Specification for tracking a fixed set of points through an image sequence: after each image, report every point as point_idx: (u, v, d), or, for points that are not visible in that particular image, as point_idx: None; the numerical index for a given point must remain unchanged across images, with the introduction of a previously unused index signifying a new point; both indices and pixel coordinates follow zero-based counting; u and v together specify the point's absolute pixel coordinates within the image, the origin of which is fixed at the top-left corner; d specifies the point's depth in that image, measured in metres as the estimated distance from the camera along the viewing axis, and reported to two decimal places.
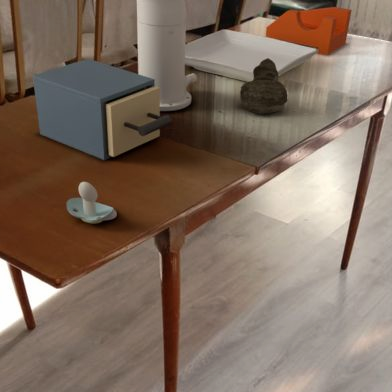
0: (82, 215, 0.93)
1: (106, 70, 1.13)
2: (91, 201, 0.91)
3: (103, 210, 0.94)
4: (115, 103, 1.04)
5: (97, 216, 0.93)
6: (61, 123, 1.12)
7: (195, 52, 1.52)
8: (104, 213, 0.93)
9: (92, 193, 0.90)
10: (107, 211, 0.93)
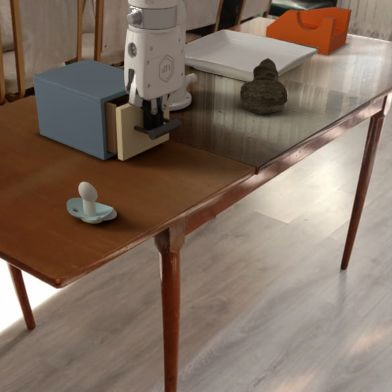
0: (82, 215, 0.93)
1: (106, 70, 1.13)
2: (91, 201, 0.91)
3: (103, 210, 0.94)
4: (125, 107, 1.03)
5: (97, 216, 0.93)
6: (61, 123, 1.12)
7: (195, 52, 1.52)
8: (104, 213, 0.93)
9: (92, 193, 0.90)
10: (107, 211, 0.93)
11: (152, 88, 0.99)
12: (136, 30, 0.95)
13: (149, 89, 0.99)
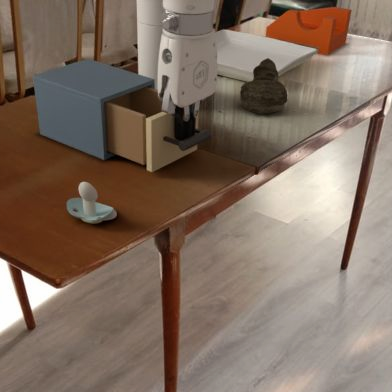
0: (82, 215, 0.93)
1: (106, 70, 1.13)
2: (91, 201, 0.91)
3: (103, 210, 0.94)
4: (155, 117, 1.00)
5: (97, 216, 0.93)
6: (61, 123, 1.12)
7: None
8: (104, 213, 0.93)
9: (92, 193, 0.90)
10: (107, 211, 0.93)
11: (186, 95, 0.96)
12: (171, 36, 0.92)
13: (183, 96, 0.96)
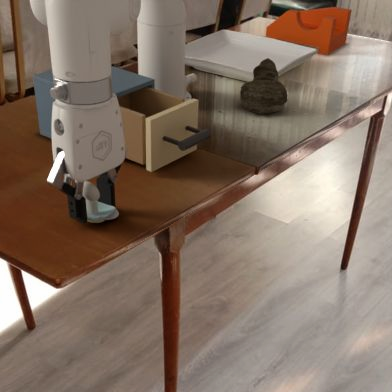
0: None
1: None
2: (93, 200, 0.91)
3: (105, 209, 0.94)
4: (155, 117, 1.00)
5: (99, 215, 0.93)
6: None
7: (195, 52, 1.52)
8: (106, 212, 0.93)
9: (93, 192, 0.90)
10: (109, 211, 0.93)
11: (85, 169, 0.85)
12: (62, 105, 0.81)
13: (81, 170, 0.84)
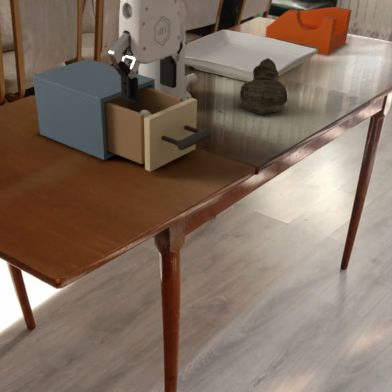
0: None
1: (106, 70, 1.13)
2: None
3: None
4: (153, 117, 1.00)
5: None
6: (61, 123, 1.12)
7: (195, 52, 1.52)
8: None
9: None
10: None
11: (148, 51, 0.96)
12: None
13: (145, 52, 0.96)
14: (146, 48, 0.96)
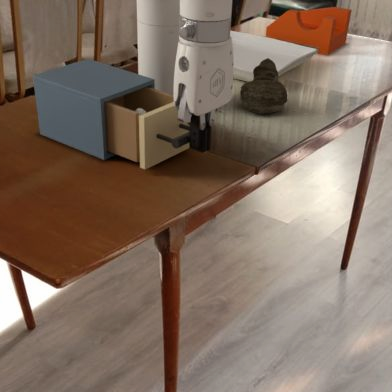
0: None
1: (106, 70, 1.13)
2: None
3: None
4: (148, 115, 1.00)
5: None
6: (61, 123, 1.12)
7: None
8: None
9: None
10: None
11: (203, 103, 0.95)
12: (188, 43, 0.90)
13: (200, 104, 0.94)
14: (201, 100, 0.94)
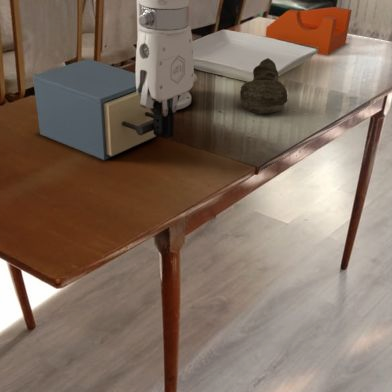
0: None
1: (106, 70, 1.13)
2: None
3: None
4: (113, 103, 1.04)
5: None
6: (61, 123, 1.12)
7: (195, 52, 1.52)
8: None
9: None
10: None
11: (164, 89, 0.98)
12: (148, 31, 0.94)
13: (161, 90, 0.98)
14: (162, 86, 0.98)
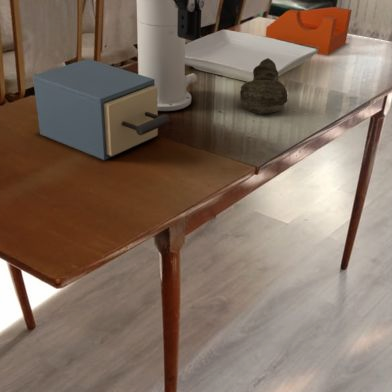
0: None
1: (106, 70, 1.13)
2: None
3: None
4: (113, 103, 1.04)
5: None
6: (61, 123, 1.12)
7: (195, 52, 1.52)
8: None
9: None
10: None
11: None
12: None
13: None
14: None
